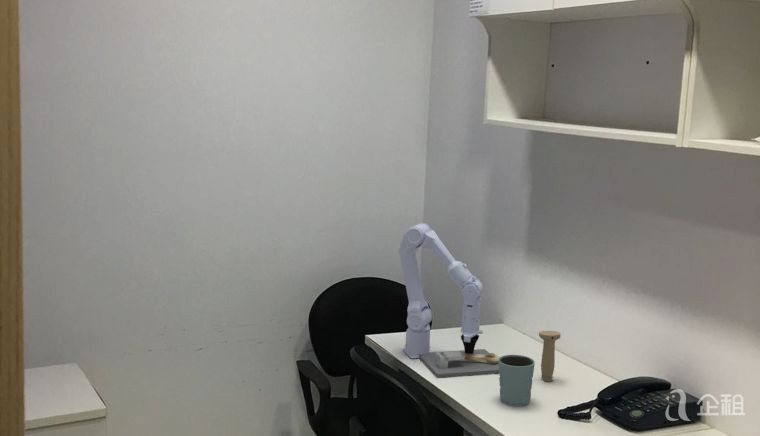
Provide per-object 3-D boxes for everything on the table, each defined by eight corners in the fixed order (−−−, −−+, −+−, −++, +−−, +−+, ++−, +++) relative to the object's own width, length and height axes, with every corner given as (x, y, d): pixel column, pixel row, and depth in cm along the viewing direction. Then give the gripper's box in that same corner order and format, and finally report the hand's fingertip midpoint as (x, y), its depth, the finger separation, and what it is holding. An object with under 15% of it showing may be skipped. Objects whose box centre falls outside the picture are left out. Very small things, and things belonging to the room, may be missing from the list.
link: (498, 359, 245) (499, 352, 244) (499, 364, 240) (499, 356, 240) (448, 356, 246) (448, 348, 246) (448, 360, 242) (448, 353, 242)
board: (417, 356, 250) (417, 353, 250) (484, 352, 256) (484, 348, 256) (437, 377, 231) (437, 374, 230) (509, 372, 237) (509, 369, 237)
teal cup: (539, 403, 213) (542, 362, 211) (513, 410, 208) (515, 368, 206) (515, 391, 222) (517, 352, 220) (489, 397, 216) (491, 357, 214)
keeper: (458, 361, 242) (458, 351, 242) (464, 367, 237) (464, 356, 237) (435, 363, 240) (435, 352, 240) (440, 368, 235) (440, 357, 235)
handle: (559, 382, 230) (562, 335, 227) (539, 383, 229) (542, 335, 226) (553, 376, 234) (556, 330, 232) (534, 377, 233) (537, 330, 231)
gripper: (480, 324, 235) (478, 365, 238) (486, 312, 249) (483, 351, 251) (458, 321, 237) (456, 362, 239) (465, 309, 251) (462, 348, 253)
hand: (468, 356), depth 245 cm, fingers closed, pressing on link
